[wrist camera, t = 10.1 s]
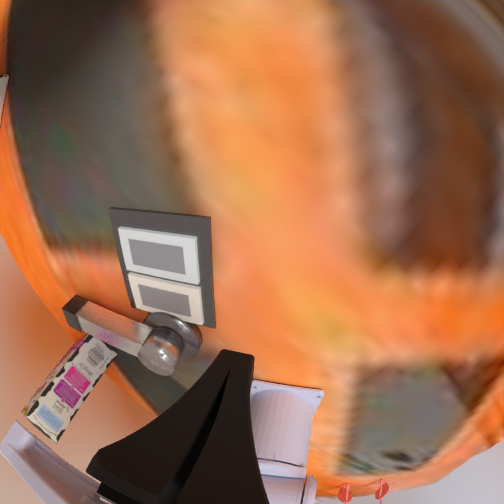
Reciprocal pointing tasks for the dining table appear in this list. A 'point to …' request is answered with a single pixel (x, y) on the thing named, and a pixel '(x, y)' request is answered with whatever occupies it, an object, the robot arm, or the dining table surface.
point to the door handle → (127, 335)
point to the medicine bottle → (2, 91)
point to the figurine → (380, 493)
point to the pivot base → (178, 331)
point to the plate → (176, 225)
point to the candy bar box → (68, 386)
